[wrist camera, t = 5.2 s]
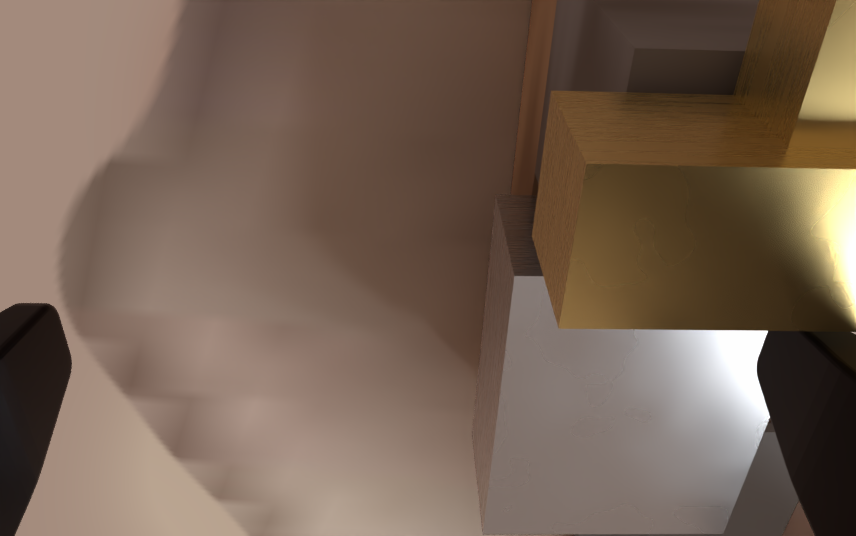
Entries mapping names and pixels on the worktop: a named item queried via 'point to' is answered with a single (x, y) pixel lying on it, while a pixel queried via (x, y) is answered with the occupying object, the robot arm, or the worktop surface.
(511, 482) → the grey rectangular box
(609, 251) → the bar
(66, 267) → the worktop surface
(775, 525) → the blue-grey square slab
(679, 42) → the plane body
